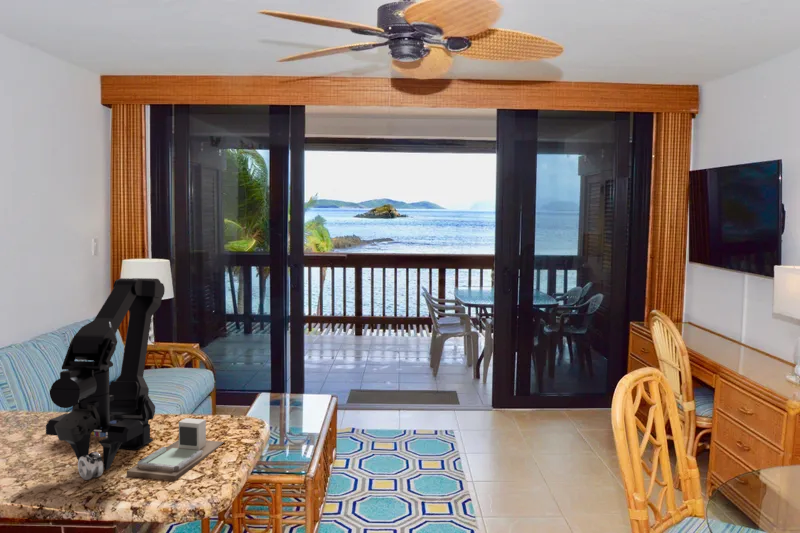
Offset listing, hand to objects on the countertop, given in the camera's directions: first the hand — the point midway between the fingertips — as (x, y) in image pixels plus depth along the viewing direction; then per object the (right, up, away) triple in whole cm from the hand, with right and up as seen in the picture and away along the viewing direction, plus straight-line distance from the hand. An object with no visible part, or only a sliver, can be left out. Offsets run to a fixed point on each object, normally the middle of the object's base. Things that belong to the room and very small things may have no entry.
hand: (95, 468), depth 123 cm
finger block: (+15, 0, +13) cm, 20 cm away
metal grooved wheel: (0, -2, -1) cm, 2 cm away
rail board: (+14, -1, +8) cm, 16 cm away
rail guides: (+13, 0, +5) cm, 14 cm away
